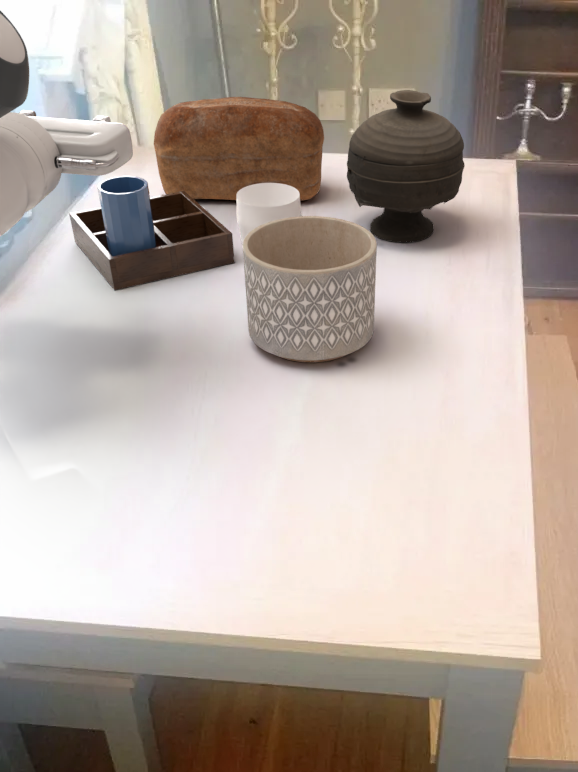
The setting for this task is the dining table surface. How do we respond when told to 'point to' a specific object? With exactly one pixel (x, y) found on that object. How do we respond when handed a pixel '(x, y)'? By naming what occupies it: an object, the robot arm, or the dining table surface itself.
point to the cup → (265, 205)
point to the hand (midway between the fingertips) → (68, 120)
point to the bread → (238, 147)
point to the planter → (310, 287)
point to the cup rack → (158, 242)
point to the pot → (405, 166)
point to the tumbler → (127, 214)
